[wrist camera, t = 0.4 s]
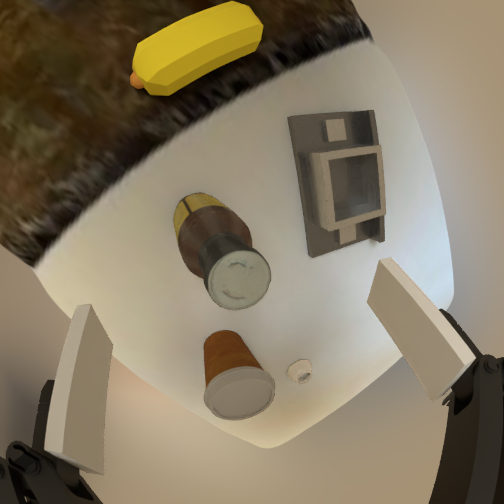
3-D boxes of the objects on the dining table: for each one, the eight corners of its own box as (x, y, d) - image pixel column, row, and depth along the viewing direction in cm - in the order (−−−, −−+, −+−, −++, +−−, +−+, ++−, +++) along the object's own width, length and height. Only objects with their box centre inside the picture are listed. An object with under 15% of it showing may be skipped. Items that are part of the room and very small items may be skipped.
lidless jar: (283, 378, 49) (305, 375, 51) (289, 388, 47) (311, 385, 48) (290, 359, 48) (313, 357, 49) (297, 369, 45) (320, 366, 47)
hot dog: (118, 67, 25) (148, 111, 28) (108, 49, 19) (143, 101, 22) (240, 7, 26) (270, 47, 29) (255, -16, 20) (290, 29, 23)
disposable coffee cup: (263, 340, 44) (291, 391, 33) (223, 374, 44) (241, 428, 34) (222, 310, 40) (244, 364, 29) (180, 350, 40) (190, 408, 29)
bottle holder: (287, 117, 33) (305, 112, 28) (358, 111, 35) (380, 109, 31) (308, 254, 41) (326, 268, 36) (370, 234, 43) (390, 243, 38)
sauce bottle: (192, 248, 35) (221, 346, 18) (163, 210, 33) (158, 280, 15) (232, 219, 36) (301, 290, 18) (205, 180, 33) (252, 212, 15)
